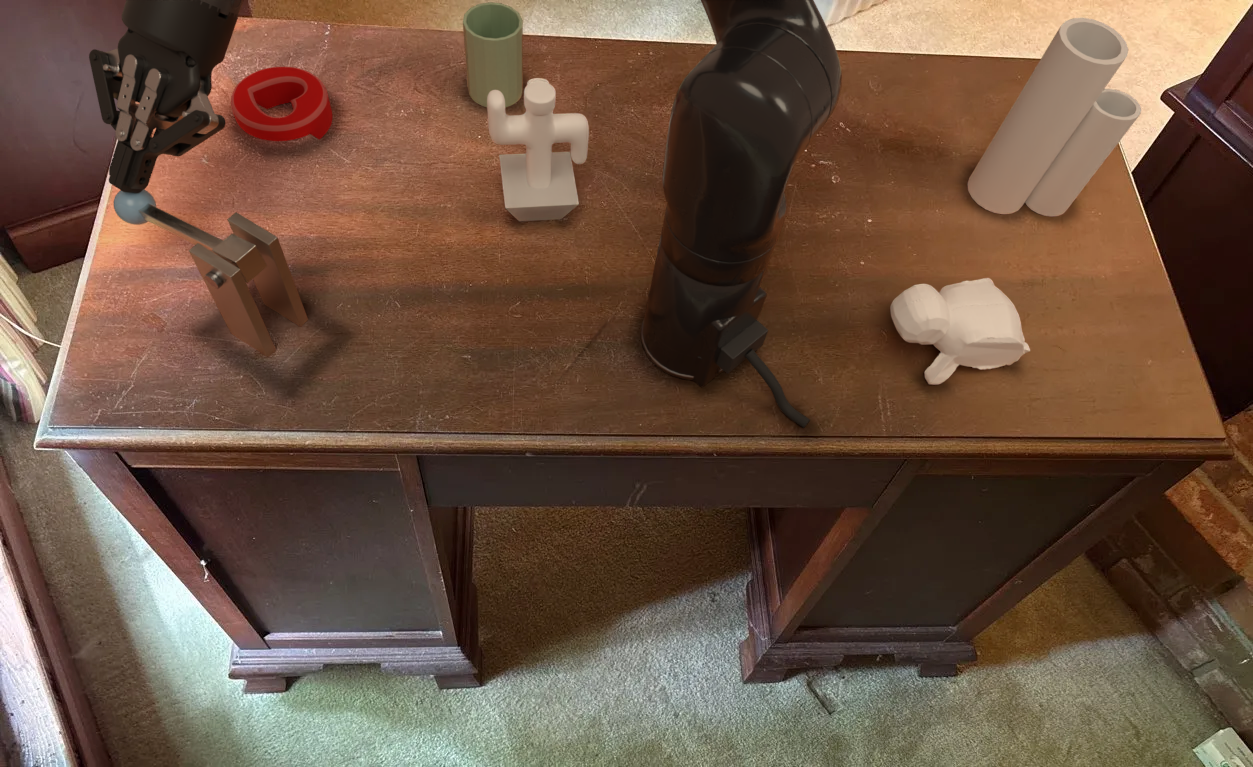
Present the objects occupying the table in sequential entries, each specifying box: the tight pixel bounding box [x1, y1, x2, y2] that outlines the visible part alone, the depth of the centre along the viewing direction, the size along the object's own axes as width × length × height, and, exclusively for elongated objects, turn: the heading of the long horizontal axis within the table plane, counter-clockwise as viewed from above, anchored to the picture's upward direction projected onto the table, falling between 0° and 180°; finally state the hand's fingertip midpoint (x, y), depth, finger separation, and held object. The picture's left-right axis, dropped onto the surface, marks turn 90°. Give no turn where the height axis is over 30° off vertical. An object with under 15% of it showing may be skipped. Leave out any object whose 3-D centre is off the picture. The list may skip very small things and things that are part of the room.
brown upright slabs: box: [188, 211, 309, 358], centre depth 74 cm, size 10×7×13 cm
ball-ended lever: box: [113, 188, 267, 284], centre depth 73 cm, size 16×3×3 cm, turn 58°
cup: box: [462, 1, 524, 109], centre depth 95 cm, size 6×6×9 cm
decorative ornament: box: [230, 66, 334, 142], centre depth 92 cm, size 10×10×3 cm
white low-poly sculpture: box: [889, 277, 1031, 386], centre depth 83 cm, size 9×8×15 cm
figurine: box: [486, 77, 590, 222], centre depth 84 cm, size 7×9×15 cm
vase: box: [966, 17, 1142, 217], centre depth 90 cm, size 11×7×20 cm, turn 93°
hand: (125, 188), depth 73 cm, fingers closed
